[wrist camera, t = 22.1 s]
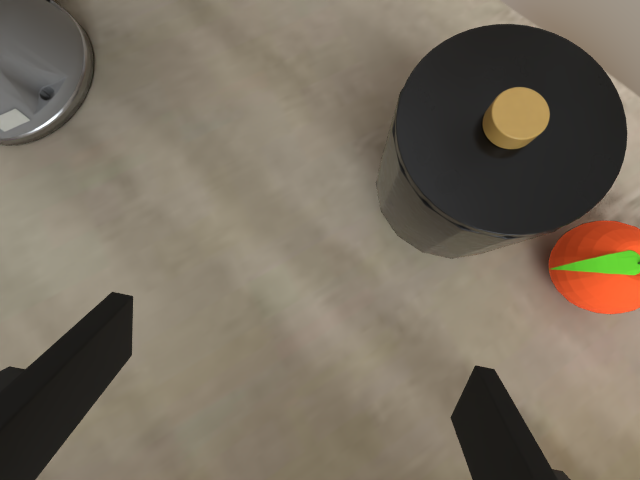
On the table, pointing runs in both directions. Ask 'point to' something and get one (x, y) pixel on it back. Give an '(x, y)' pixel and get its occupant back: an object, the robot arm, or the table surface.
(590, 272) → the clementine
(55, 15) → the robot arm
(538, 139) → the black lidded canister
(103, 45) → the table surface
